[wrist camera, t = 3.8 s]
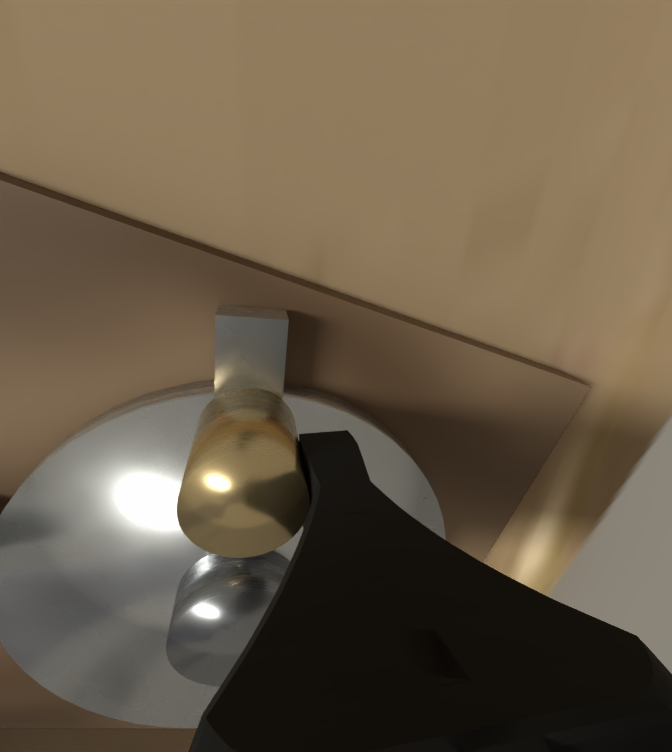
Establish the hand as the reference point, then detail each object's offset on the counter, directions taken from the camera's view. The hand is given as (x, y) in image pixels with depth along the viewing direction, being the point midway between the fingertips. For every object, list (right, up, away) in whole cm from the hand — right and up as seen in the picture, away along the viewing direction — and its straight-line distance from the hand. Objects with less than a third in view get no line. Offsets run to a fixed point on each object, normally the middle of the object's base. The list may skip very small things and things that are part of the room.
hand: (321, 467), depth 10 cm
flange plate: (-3, -4, +3) cm, 6 cm away
